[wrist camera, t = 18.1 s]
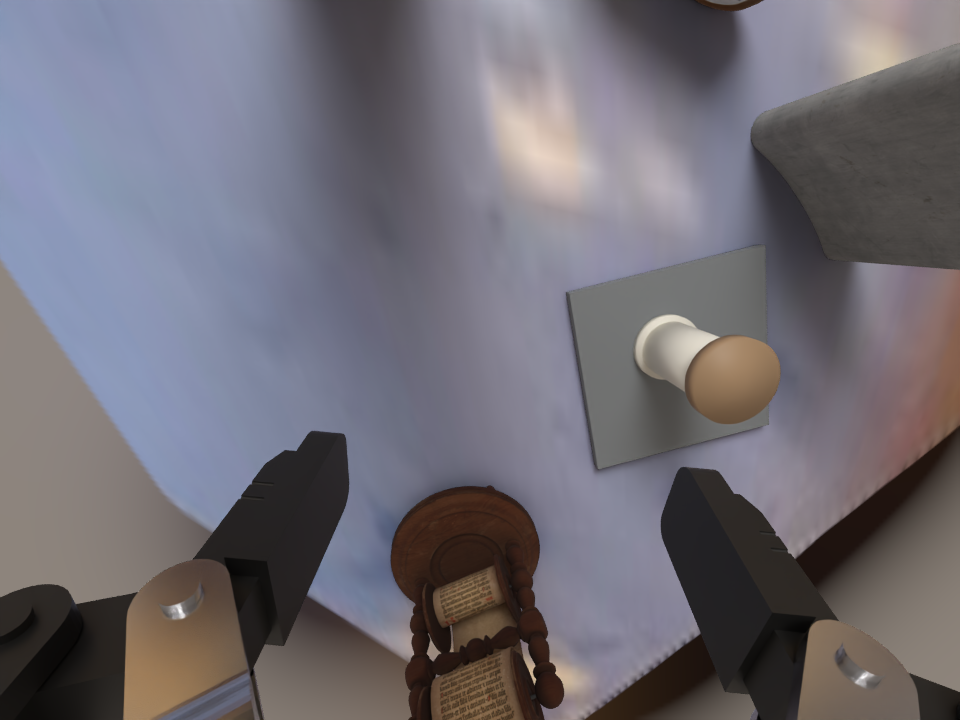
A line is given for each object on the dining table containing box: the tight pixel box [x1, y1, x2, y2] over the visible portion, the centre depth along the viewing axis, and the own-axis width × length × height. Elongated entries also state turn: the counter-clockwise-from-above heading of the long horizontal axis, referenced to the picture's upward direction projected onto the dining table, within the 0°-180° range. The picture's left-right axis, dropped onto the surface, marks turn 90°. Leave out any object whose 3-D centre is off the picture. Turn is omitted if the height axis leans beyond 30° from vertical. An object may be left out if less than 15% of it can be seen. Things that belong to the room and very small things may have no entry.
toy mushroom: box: [633, 314, 780, 424], centre depth 35 cm, size 6×6×10 cm
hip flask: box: [751, 43, 960, 270], centre depth 28 cm, size 16×4×20 cm, turn 45°
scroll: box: [391, 485, 564, 720], centre depth 35 cm, size 15×15×20 cm
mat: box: [566, 245, 769, 469], centre depth 41 cm, size 18×18×1 cm
